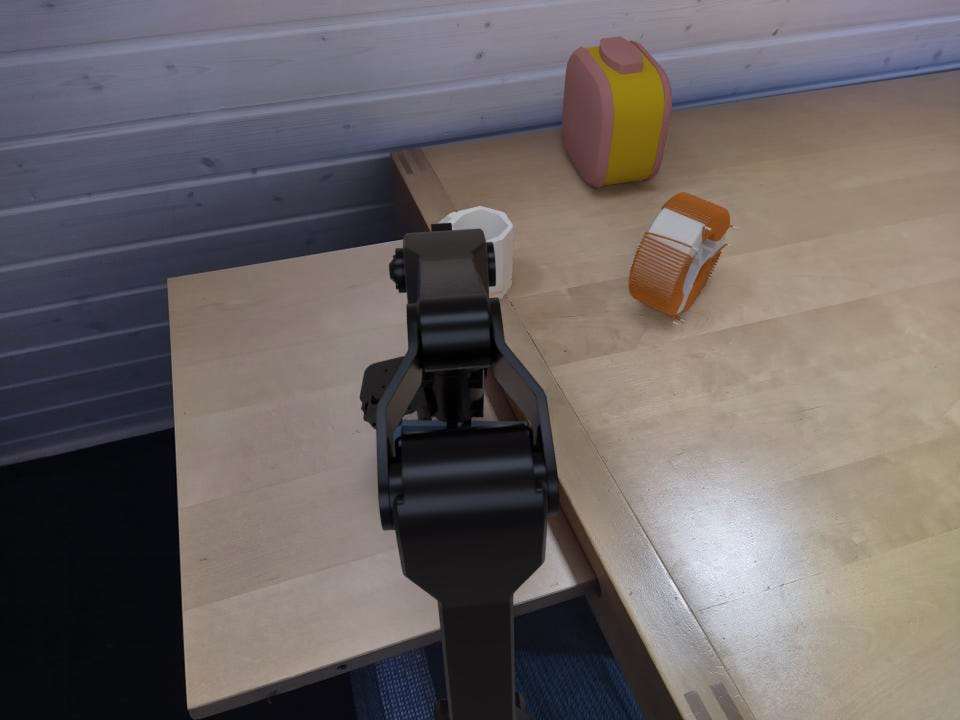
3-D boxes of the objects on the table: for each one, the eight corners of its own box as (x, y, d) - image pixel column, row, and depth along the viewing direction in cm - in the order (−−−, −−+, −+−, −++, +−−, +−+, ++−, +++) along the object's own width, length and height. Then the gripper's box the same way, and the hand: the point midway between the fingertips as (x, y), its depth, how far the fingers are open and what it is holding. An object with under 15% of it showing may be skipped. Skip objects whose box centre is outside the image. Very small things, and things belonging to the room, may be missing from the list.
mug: (523, 284, 97) (526, 225, 90) (478, 314, 93) (476, 255, 86) (464, 245, 103) (462, 187, 96) (418, 272, 99) (413, 213, 92)
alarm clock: (659, 194, 111) (683, 73, 97) (592, 204, 109) (607, 82, 95) (617, 134, 123) (633, 19, 109) (556, 143, 122) (564, 27, 108)
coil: (619, 319, 92) (636, 225, 81) (677, 261, 100) (699, 168, 89) (667, 343, 89) (691, 249, 78) (722, 281, 97) (751, 188, 86)
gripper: (374, 282, 69) (390, 386, 81) (343, 436, 57) (368, 534, 68) (488, 283, 69) (489, 388, 80) (483, 438, 56) (484, 537, 68)
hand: (457, 455), depth 74 cm, fingers open, 9 cm apart
